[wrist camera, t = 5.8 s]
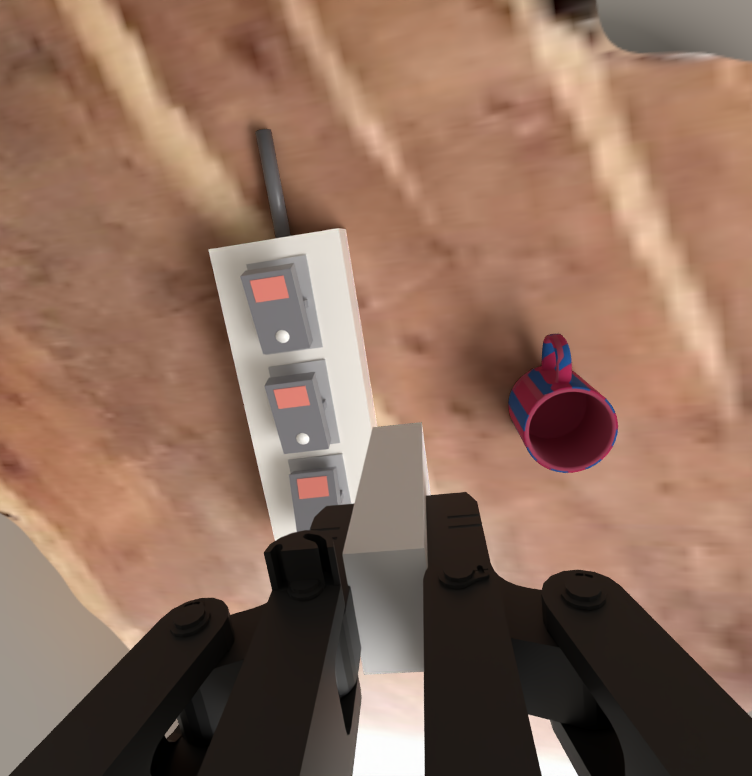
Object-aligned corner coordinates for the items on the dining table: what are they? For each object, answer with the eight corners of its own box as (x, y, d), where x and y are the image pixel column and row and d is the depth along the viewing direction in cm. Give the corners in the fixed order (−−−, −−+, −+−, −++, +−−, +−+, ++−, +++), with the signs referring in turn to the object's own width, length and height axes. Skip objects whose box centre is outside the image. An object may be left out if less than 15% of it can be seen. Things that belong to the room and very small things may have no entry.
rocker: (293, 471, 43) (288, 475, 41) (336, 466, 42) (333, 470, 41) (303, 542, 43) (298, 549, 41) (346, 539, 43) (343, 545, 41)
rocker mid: (268, 377, 39) (264, 386, 38) (315, 371, 39) (311, 379, 38) (287, 444, 42) (283, 454, 41) (331, 439, 42) (328, 449, 40)
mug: (506, 439, 46) (521, 473, 39) (510, 326, 43) (527, 341, 36) (585, 439, 45) (614, 473, 39) (594, 324, 42) (626, 339, 36)
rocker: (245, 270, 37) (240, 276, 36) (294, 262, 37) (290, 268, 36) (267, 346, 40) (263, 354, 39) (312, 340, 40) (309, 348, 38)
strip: (202, 144, 41) (171, 131, 36) (328, 120, 40) (315, 103, 35) (286, 527, 50) (272, 560, 45) (392, 517, 49) (389, 549, 44)
